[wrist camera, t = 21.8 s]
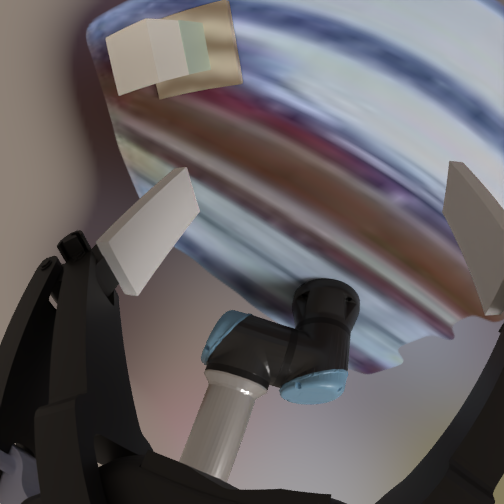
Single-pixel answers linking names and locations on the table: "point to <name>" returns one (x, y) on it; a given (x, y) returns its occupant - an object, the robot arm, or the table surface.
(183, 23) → the sage brick
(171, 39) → the cream brick
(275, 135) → the table surface
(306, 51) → the table surface
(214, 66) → the base plate
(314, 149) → the table surface
